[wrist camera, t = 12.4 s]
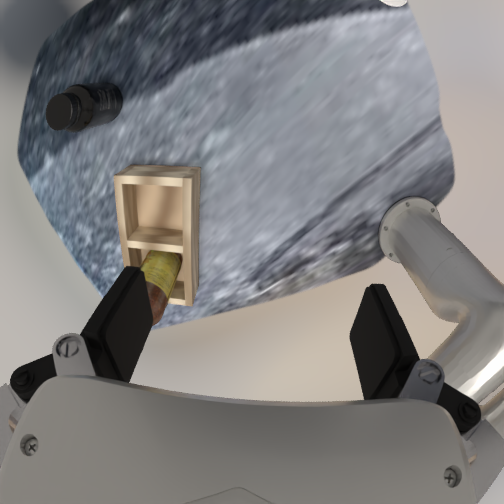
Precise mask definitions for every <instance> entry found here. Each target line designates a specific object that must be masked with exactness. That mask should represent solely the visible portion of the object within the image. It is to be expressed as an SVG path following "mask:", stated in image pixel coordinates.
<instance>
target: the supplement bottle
mask: <svg viewBox="0 0 504 504" xmlns="http://www.w3.org/2000/svg"><path fill="white" fill-rule="evenodd" d="M121 105H122V97H121V94H120V91H119V90H118V88H117V87H116V86H114V85H113V84H110V83H87V84H76V85H72V86H70V87H69V88H67V89H66V90H65V91H64V92H63V93H61V94H57V95H55V96H54V97H52V99H51V100H50V101H49V103H48V105H47V108H46V120H47V123H48V125H49V126H50V127H51V128H52V129H54V130H57V131H58V130H63V129H64V130H66V131H68V132H71V133H76V132H81V131H84V130H87V129H90V128H93V127H96V126H100V125H103V124H106V123H109V122H110V121H112V120H113V119H114V118H115V117H116V116H117V115H118V113H119V111H120V109H121Z"/></svg>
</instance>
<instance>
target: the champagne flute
mask: <svg viewBox="0 0 504 504" xmlns="http://www.w3.org/2000/svg"><path fill="white" fill-rule="evenodd" d="M380 1H382V2H383V3H385V4H387V5H390V6H396V7H398V6H402V5H404V4H405V3H406V2H407V0H380Z"/></svg>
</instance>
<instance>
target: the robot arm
mask: <svg viewBox="0 0 504 504" xmlns="http://www.w3.org/2000/svg"><path fill="white" fill-rule="evenodd" d="M378 235H379V244H380V247H381V249H382V251H383V252H384V254H385V255H386V256H387V257H388V258H389V259H390V260H392V261H394V262H397V263H402V265H403V266H404V268H405V269H406V271H407V272H408V274H409V275H410V277H411V278H412V280H413V281H414V283H415V285H416V286H417V288H418V289H419V291H420V293H421V294H422V296H423V297H424V299H425V301H426V302H427V304H428V305H429V307H430V309H431V310H432V312H433V313H434V314H435V315H436V316H438V317H439V318H441V319H443V320H445V321H449V322H454V323H459V324H458V326H457V327H456V328H455V329H454V331H453V332H452V333H451V334H450V336H449V337H448V338H447V339H446V340H445V341H444V342H443V343H442V344H441V345H440V346H439V347H438V348H437V349H436V350H435V351H434V352H433V353H432V354H431V355H430V356H429V357H428V358H427V359H421V360H420V358H419V356H418V353H417V351H416V349H415V347H414V344H413V342H412V340H411V337H410V335H409V333H408V331H407V329H406V326H405V324H404V322H403V320H402V318H401V316H400V315H399V313H398V310H397V308H396V306H395V304H394V302H393V300H392V298H391V296H390V294H389V292H388V290H387V288H386V286H385V285H384V284H371V285H370V287H367V288H366V289H365V292H364V295H363V298H362V301H361V304H360V307H359V309H358V312H357V315H356V318H355V320H354V323H353V326H352V328H351V331H350V342H351V346H352V350H353V354H354V358H355V362H356V366H357V370H358V374H359V379H360V383H361V388H362V392H363V396H364V400H357V401H333V402H281V401H257V400H244V399H231V398H222V397H212V396H203V395H195V394H188V393H182V392H176V391H169V390H164V389H158V388H153V387H148V386H142V385H137V384H132V383H129V382H130V379H131V377H132V374H133V372H134V369H135V366H136V364H137V361H138V359H139V356H140V354H141V352H142V349H143V347H144V344H145V342H146V339H147V337H148V335H149V332H150V330H151V328H152V325H153V314H152V309H151V305H150V300H149V295H148V290H147V285H146V279H145V274H144V271H141V269H140V267H135V266H126V267H125V268H124V269H123V271H122V272H121V274H120V275H119V277H118V278H117V279H116V281H115V282H114V284H113V285H112V287H111V288H110V290H109V291H108V293H107V294H106V295H105V296H104V298H103V299H102V301H101V302H100V304H99V305H98V307H97V308H96V310H95V311H94V313H93V314H92V316H91V318H90V319H89V321H88V322H87V324H86V326H85V327H84V329H83V330H82V332H81V334H80V335H78V334H76V333H69V334H65V335H63V336H61V337H60V338H58V339H57V340H56V342H55V343H54V345H53V350H52V352H53V353H52V354H50V355H47V356H45V357H42V358H40V359H37V360H35V361H33V362H30V363H28V364H25V365H23V366H21V367H19V368H17V369H16V370H15V371H14V372H13V374H12V376H11V379H10V384H9V385H7V384H6V383H5V384H4V385H3V386H1V387H0V504H477V503H478V502H479V501H480V499H481V498H482V497H483V496H484V494H485V493H486V492H487V490H488V489H489V487H490V486H491V485H492V483H493V482H494V480H495V479H496V477H497V476H498V474H499V473H500V471H501V470H502V468H503V467H504V388H503V389H502V390H501V391H500V392H499V393H498V394H497V395H495V396H494V397H493V398H492V399H491V400H490V401H488V402H487V403H486V404H485V405H478V404H479V403H480V402H481V401H482V400H483V399H485V398H486V397H487V396H488V395H489V394H490V393H492V392H494V391H495V390H496V389H497V388H498V387H499V386H500V385H501V384H502V383H503V382H504V284H503V283H501V282H500V281H499V280H498V279H497V278H496V277H495V276H494V275H493V274H492V273H491V272H490V271H489V270H488V269H487V268H486V267H485V266H484V265H483V264H482V263H481V262H480V261H479V260H478V259H477V258H476V257H475V256H474V255H473V254H472V253H471V252H470V251H469V249H467V247H465V245H463V243H462V242H461V241H459V240H458V239H457V238H456V237H455V236H454V234H453V233H451V232H450V231H449V230H448V229H447V228H446V227H445V226H444V225H443V224H442V223H441V220H440V215H439V212H438V210H437V208H436V207H435V206H434V205H433V204H432V203H431V202H430V201H428V200H426V199H425V198H422V197H408V198H405V199H402V200H400V201H399V202H397V203H396V204H394V205H393V206H392V207H391V208H390V209H389V210H388V211H387V213H386V214H385V216H384V217H383V219H382V221H381V224H380V227H379V233H378Z"/></svg>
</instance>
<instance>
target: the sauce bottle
mask: <svg viewBox="0 0 504 504" xmlns="http://www.w3.org/2000/svg"><path fill="white" fill-rule="evenodd" d="M181 264H182V256H181V254H180V253H176V252H166V251H157V250H150V251H149V252H148V254H147V255H146V257H145V259H144V260H143V262H142V264H141V266H140V269H141V271H144V274H145V279H146V285H147V290H148V295H149V300H150V305H151V309H152V314H153V325H155V324H157V323H158V322H159V321H160V319H161V318H162V316H163V313H164V310H165V308H166V306H167V304H168V302H169V299H170V296H171V293H172V291H173V288H174V285H175V283H176V280H177V277H178V275H179V272H180V269H181ZM153 325H152V326H153ZM142 350H143V349H142Z"/></svg>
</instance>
